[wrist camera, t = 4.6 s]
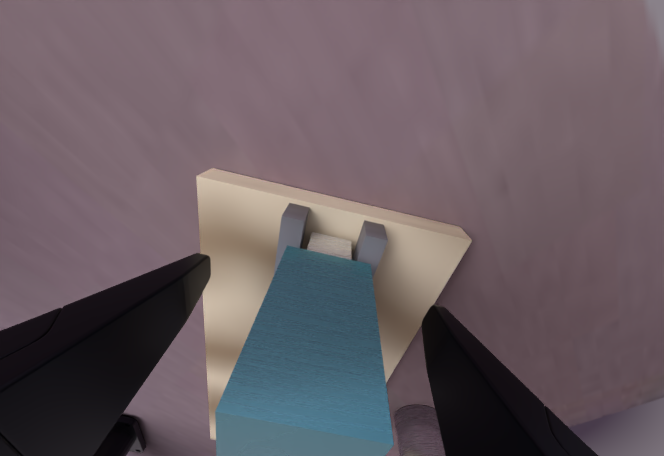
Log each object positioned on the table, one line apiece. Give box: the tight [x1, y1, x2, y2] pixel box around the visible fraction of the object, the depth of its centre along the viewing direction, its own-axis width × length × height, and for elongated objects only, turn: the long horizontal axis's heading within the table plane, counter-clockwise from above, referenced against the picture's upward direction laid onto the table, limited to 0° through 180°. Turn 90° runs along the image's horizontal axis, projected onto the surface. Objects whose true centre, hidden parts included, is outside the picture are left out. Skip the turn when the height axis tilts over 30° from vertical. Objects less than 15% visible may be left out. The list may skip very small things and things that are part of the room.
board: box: [197, 168, 472, 440], centre depth 15 cm, size 23×11×2 cm, turn 167°
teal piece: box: [215, 232, 394, 456], centre depth 10 cm, size 13×3×6 cm, turn 167°
